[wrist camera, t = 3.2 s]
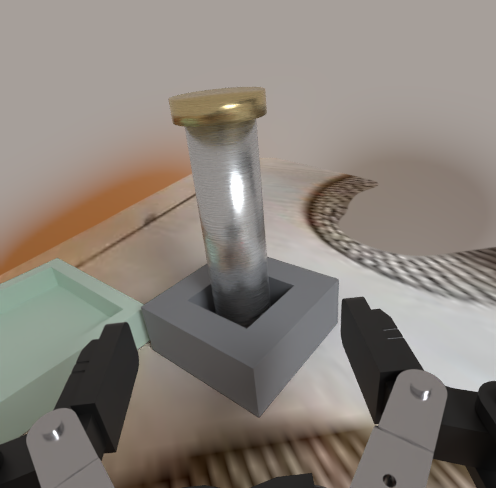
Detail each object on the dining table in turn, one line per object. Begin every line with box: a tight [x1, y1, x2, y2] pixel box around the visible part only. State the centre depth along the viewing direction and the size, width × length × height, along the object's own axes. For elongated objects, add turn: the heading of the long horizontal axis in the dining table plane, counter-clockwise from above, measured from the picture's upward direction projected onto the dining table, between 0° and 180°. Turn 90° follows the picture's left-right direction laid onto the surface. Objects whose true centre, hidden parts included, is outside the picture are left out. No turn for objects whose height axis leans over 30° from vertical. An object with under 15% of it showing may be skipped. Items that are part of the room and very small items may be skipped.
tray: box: [0, 258, 150, 444], centre depth 28 cm, size 14×14×3 cm
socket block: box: [141, 257, 339, 417], centre depth 27 cm, size 10×10×4 cm
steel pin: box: [169, 87, 271, 329], centre depth 24 cm, size 5×5×17 cm
